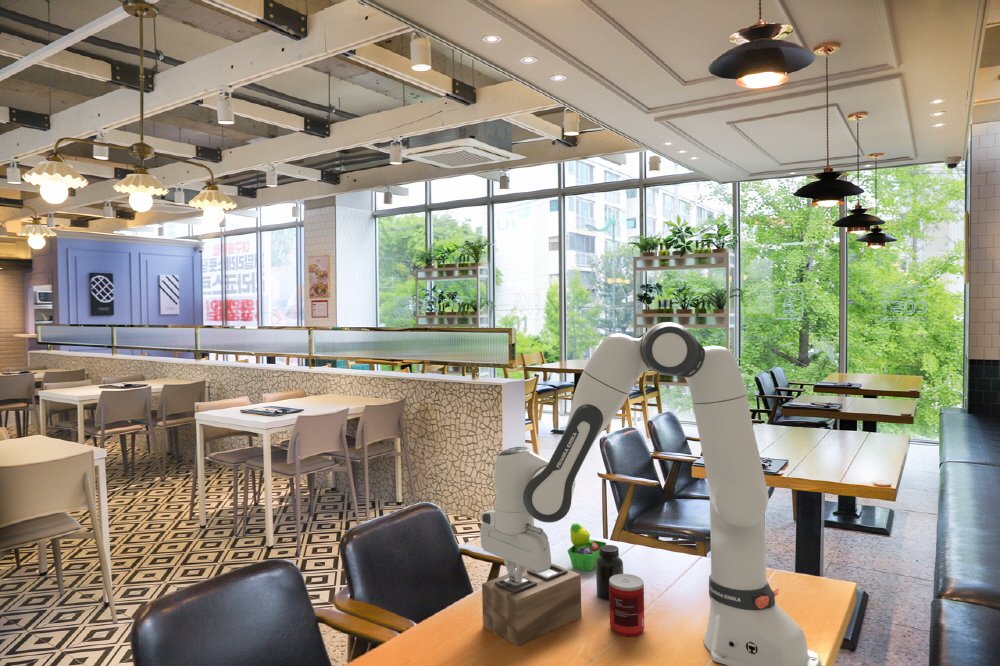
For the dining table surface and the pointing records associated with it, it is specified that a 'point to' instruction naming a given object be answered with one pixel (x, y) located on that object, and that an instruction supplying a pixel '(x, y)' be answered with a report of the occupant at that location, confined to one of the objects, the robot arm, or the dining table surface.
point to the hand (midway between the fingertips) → (515, 580)
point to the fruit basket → (583, 548)
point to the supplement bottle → (607, 568)
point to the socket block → (531, 604)
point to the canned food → (626, 604)
